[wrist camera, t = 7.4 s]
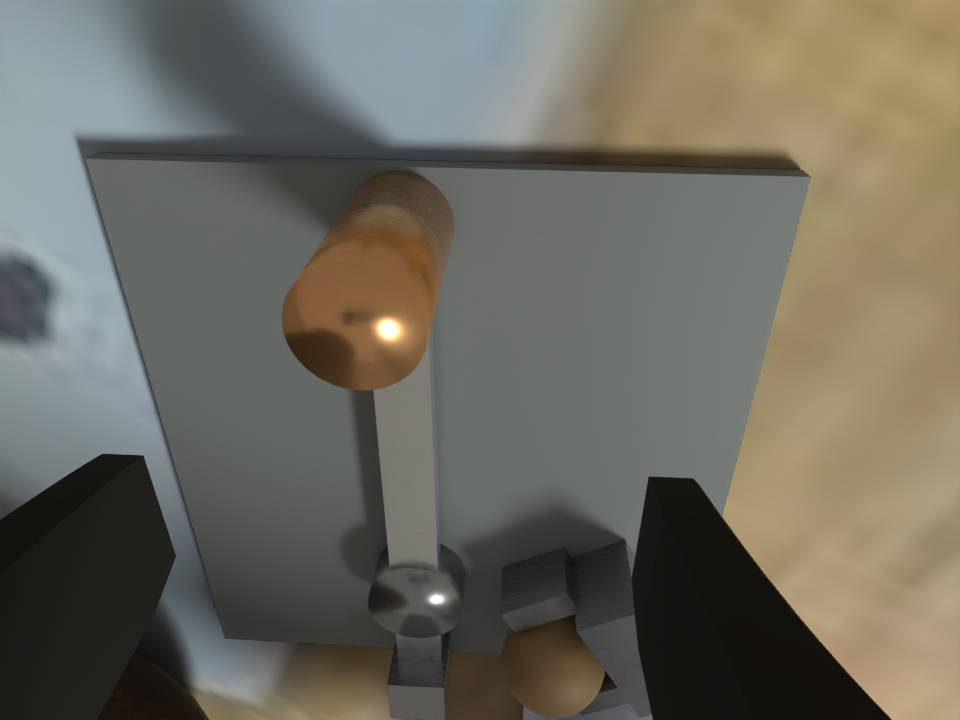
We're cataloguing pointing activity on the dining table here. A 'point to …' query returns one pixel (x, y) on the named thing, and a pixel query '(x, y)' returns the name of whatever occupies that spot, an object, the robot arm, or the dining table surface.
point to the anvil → (584, 612)
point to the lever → (391, 406)
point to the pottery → (149, 696)
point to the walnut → (551, 668)
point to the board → (445, 365)
